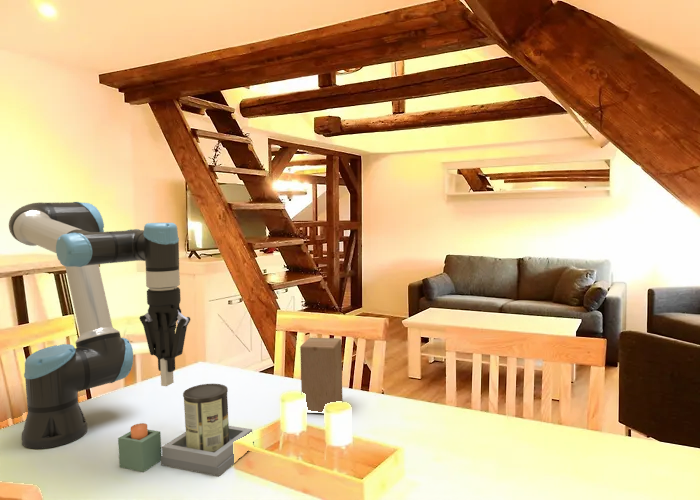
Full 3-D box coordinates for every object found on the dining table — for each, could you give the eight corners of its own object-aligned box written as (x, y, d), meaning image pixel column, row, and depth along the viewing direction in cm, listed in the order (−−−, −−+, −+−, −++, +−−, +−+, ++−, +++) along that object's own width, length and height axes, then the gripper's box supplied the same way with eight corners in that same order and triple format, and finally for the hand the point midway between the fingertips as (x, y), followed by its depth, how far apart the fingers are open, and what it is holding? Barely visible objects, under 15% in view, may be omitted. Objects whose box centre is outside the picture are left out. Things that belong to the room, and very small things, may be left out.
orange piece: (128, 449, 121) (127, 428, 121) (139, 442, 124) (138, 422, 124) (140, 451, 120) (139, 430, 119) (151, 444, 123) (150, 424, 123)
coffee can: (209, 434, 133) (207, 380, 132) (238, 443, 127) (236, 387, 126) (176, 450, 124) (173, 393, 123) (206, 461, 119) (203, 401, 117)
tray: (161, 464, 122) (160, 446, 121) (201, 438, 135) (200, 421, 135) (218, 476, 116) (217, 456, 115) (254, 446, 130) (253, 429, 129)
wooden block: (335, 415, 148) (333, 347, 147) (301, 413, 150) (299, 345, 149) (342, 402, 158) (341, 338, 156) (311, 401, 160) (309, 337, 158)
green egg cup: (119, 467, 121) (117, 438, 120) (138, 455, 126) (137, 427, 126) (143, 472, 118) (141, 442, 118) (161, 460, 124) (160, 431, 123)
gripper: (196, 286, 125) (199, 381, 127) (151, 284, 129) (155, 376, 131) (176, 291, 118) (180, 392, 120) (129, 289, 122) (134, 386, 124)
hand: (167, 384), depth 126 cm, fingers closed
